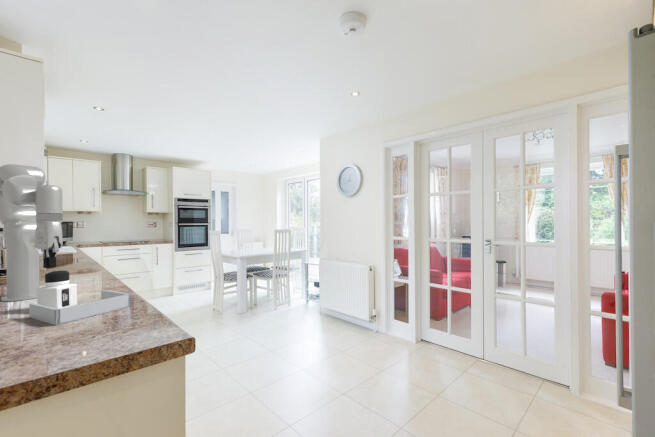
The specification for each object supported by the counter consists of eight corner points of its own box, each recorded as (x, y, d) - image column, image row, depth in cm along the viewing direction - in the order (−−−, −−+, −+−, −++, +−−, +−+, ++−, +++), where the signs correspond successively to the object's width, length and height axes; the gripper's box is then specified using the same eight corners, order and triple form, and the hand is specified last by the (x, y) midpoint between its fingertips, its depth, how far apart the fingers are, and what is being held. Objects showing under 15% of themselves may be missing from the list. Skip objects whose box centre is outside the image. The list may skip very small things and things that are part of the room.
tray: (29, 317, 99) (29, 303, 99) (104, 301, 119) (104, 289, 119) (56, 325, 91) (56, 310, 91) (131, 306, 111) (131, 294, 111)
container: (77, 304, 113) (76, 269, 113) (57, 310, 105) (56, 272, 105) (58, 305, 114) (57, 269, 114) (36, 311, 106) (36, 273, 106)
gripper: (27, 219, 116) (27, 268, 115) (46, 218, 109) (47, 270, 109) (51, 219, 122) (52, 265, 122) (71, 218, 116) (72, 267, 115)
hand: (49, 267), depth 115 cm, fingers closed
